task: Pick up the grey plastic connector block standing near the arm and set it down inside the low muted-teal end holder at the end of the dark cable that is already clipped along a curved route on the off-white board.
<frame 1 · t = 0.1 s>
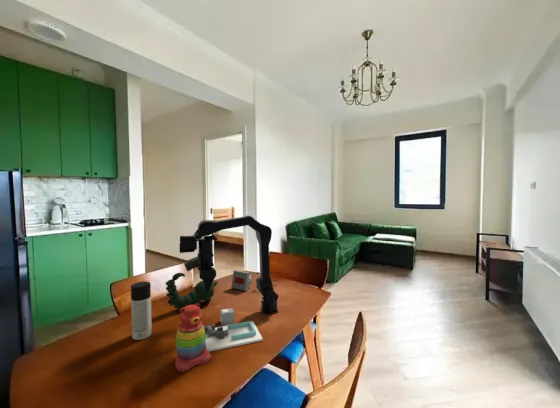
hand: (206, 287, 111), 14 cm above the table, fingers open, 9 cm apart
toy figurine: (194, 306, 127), on the table
stacking bear: (191, 359, 87), on the table
route board: (232, 335, 101), on the table
spray can: (141, 336, 101), on the table
connector: (227, 322, 111), on the table
end holder: (241, 334, 102), resting on route board
voltmeter: (254, 289, 149), on the table
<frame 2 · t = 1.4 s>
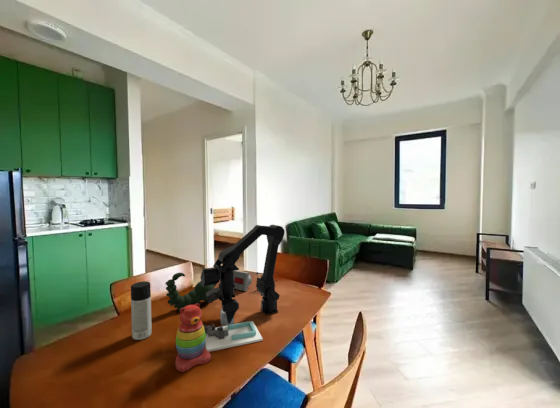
hand: (227, 318, 111), 2 cm above the table, fingers open, 9 cm apart
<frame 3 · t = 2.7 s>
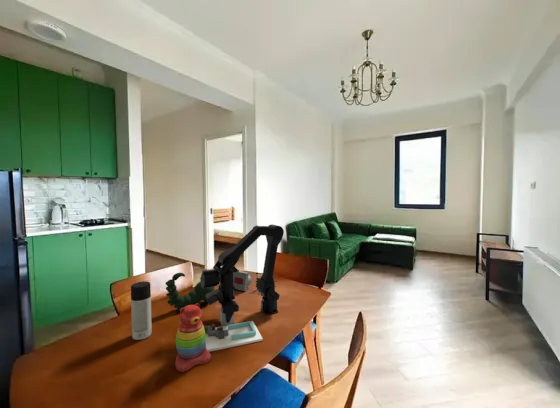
hand: (227, 320, 111), 1 cm above the table, fingers closed on connector, 4 cm apart
connector: (227, 322, 111), on the table, touching gripper
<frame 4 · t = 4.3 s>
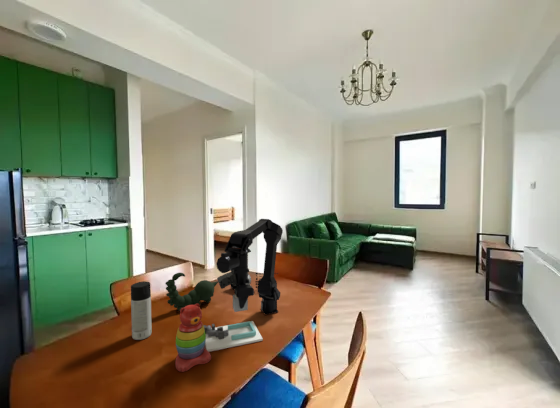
hand: (240, 306, 102), 11 cm above the table, fingers closed on connector, 4 cm apart
connector: (240, 308, 102), point 10 cm above the table, touching gripper
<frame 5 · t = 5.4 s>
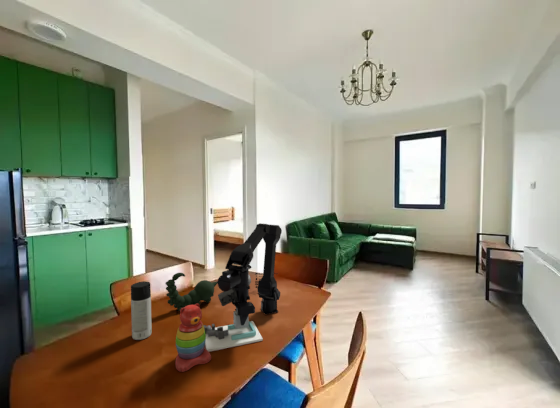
hand: (241, 322, 102), 5 cm above the table, fingers closed on connector, 4 cm apart
connector: (241, 325, 102), point 4 cm above the table, touching gripper
when the fingers open (4 cm above the table, at t = 6.3 s): connector drops 2 cm, resting on route board.
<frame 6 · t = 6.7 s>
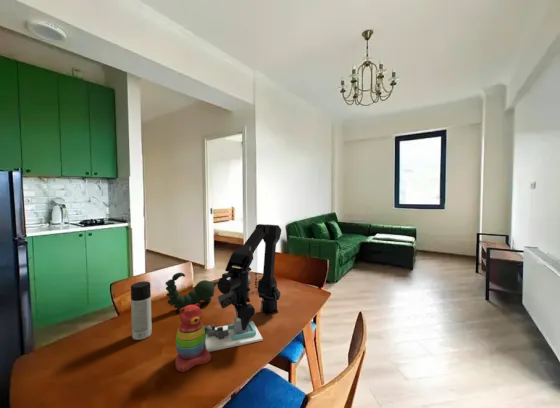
hand: (241, 324, 102), 4 cm above the table, fingers open, 8 cm apart
connector: (240, 332, 102), point 1 cm above the table, touching route board
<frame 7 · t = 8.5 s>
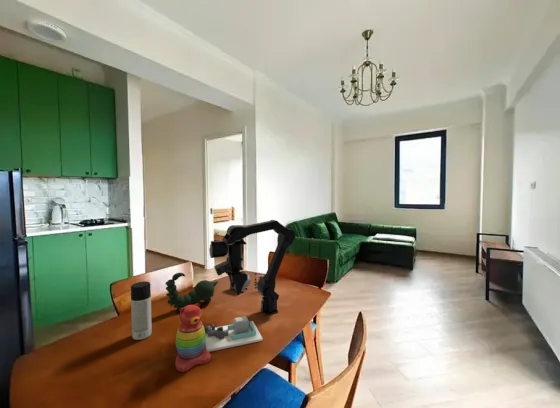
hand: (235, 291, 114), 12 cm above the table, fingers open, 9 cm apart
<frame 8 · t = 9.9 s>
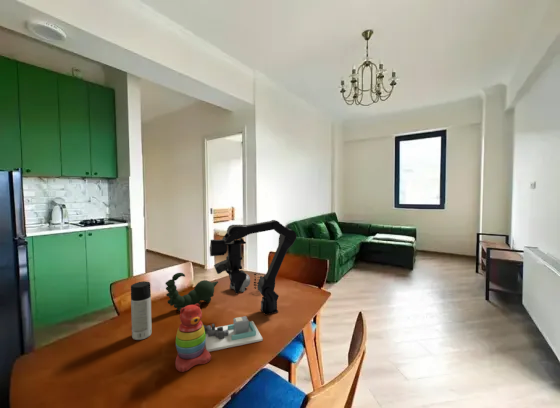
hand: (234, 289, 116), 12 cm above the table, fingers open, 9 cm apart
at the end: connector inside the target area on the end holder (0.1 cm from its centre), point 0.8 cm above the end holder's base; connector tilted 0°; the gripper is holding nothing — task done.
